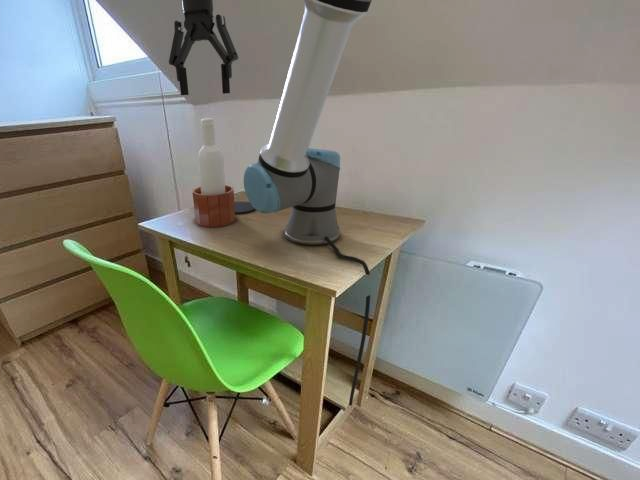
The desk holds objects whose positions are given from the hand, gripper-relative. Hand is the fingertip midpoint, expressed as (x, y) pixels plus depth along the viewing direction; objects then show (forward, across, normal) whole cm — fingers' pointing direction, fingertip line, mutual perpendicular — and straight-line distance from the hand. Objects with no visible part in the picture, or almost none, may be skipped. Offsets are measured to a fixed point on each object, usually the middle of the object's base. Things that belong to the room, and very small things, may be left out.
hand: (205, 94), depth 94 cm
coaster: (+36, -2, -14) cm, 39 cm away
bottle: (+36, 0, 0) cm, 36 cm away
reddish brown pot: (+36, 0, 0) cm, 36 cm away
